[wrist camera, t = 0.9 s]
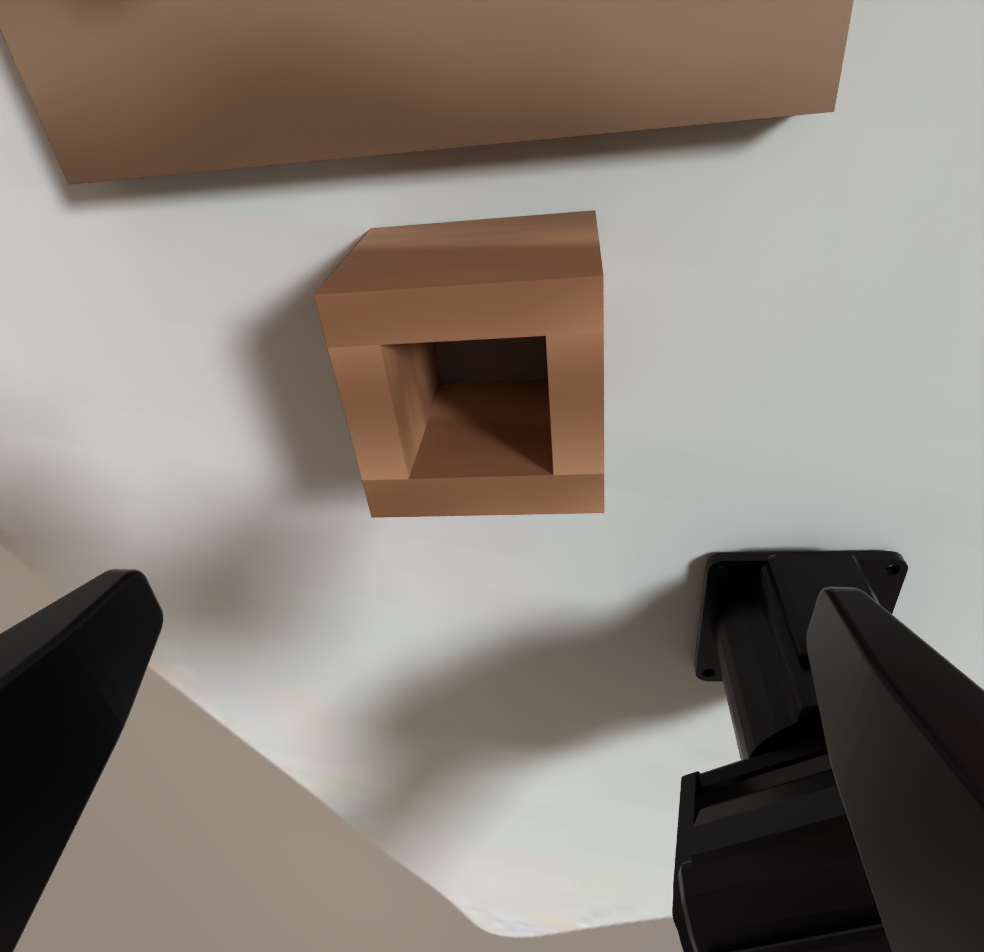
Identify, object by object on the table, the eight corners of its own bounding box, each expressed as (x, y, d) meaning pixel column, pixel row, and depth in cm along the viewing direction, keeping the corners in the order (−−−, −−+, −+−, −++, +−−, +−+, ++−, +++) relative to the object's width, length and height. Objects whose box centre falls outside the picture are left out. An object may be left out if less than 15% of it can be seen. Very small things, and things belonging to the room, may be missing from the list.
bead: (596, 412, 21) (604, 512, 17) (408, 419, 21) (371, 517, 17) (594, 210, 17) (603, 275, 13) (370, 228, 18) (313, 295, 14)
